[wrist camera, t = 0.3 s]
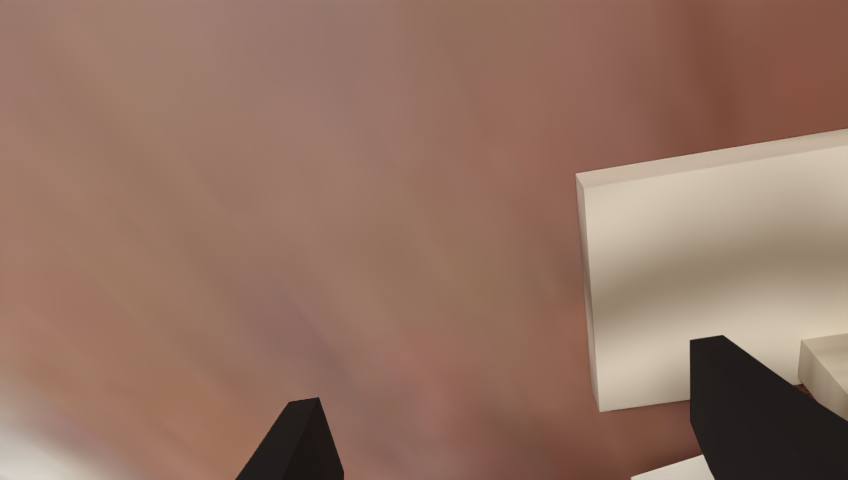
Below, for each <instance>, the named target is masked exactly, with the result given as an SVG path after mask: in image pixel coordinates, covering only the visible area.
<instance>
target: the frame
mask: <svg viewBox="0 0 848 480" xmlns="http://www.w3.org/2000/svg"><path fill="white" fill-rule="evenodd" d="M631 480H715V479H714V477H713V475H712V474H711V472H710V470H709V467H708V465H707V462H706V460H705V458H704V455H700V456H697V457H694V458H691V459H687V460H684V461H681V462H678V463H675V464H672V465H668V466H665V467H662V468H659V469H656V470H652V471H649V472H646V473H643V474H640V475H637V476H633V477H631Z"/></svg>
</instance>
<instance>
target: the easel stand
mask: <svg viewBox="0 0 848 480" xmlns="http://www.w3.org/2000/svg"><path fill="white" fill-rule="evenodd" d="M576 186H577V199H578V212H579V225H580V238H581V251H582V264H583V277H584V291H585V304H586V317H587V330H588V343H589V356H590V369H591V382H592V391H593V394H594V397H595V400H596V403H597V406H598V408H599V411H600V412H603V411H610V410H617V409H624V408H631V407H639V406H646V405H653V404H660V403H668V402H675V401H682V400H689V399H690V340H692V339H699V338H705V337H712V336H718V335H724V336H725V337H727V338H728V339H729V340H731V341H732V342H733V343H735V344H736V345H738V346H739V347H740V348H742V349H743V350H744V351H746V352H747V353H749V354H750V355H751V356H753V357H754V358H755V359H757V360H758V361H760V362H761V363H762V364H764V365H765V366H766V367H768V368H769V369H771V370H772V371H773V372H775V373H776V374H778V375H779V376H780V377H782V378H783V379H785V380H786V381H787V382H789V383H790V384H792V385H798V384H804V385H805V386H806V388H807V389H808V390H809V392H810V393H811V394H812V395H813V397H814V398H815V399H816V401H817V402H818V403H820V404H821V405H823V406H825V407H826V408H828V409H829V410H831V411H832V412H834V413H835V414H837V415H839V416H840V417H842V418H844V419H845V420H847V421H848V129H842V130H836V131H830V132H824V133H818V134H812V135H806V136H800V137H794V138H788V139H782V140H776V141H770V142H763V143H757V144H751V145H745V146H739V147H733V148H727V149H721V150H715V151H709V152H703V153H697V154H691V155H685V156H679V157H673V158H667V159H661V160H655V161H649V162H642V163H636V164H630V165H624V166H618V167H612V168H606V169H600V170H594V171H588V172H582V173H576Z"/></svg>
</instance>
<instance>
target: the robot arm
mask: <svg viewBox="0 0 848 480" xmlns="http://www.w3.org/2000/svg"><path fill="white" fill-rule="evenodd" d="M690 422H691V425H692V427H693V430H694V433H695V435H696V438H697V440H698V443H699V445H700V448H701V450H702V453H703V455H704V458H705V460H706V462H707V465H708V467H709V470H710V472H711V474H712V475H713V477H714V479H715V480H848V421H847V420H845V419H844V418H842V417H840V416H839V415H837V414H835V413H834V412H832V411H831V410H829V409H828V408H826V407H825V406H823V405H821V404H820V403H818V402H817V401H815V400H814V399H812V398H811V397H809V396H808V395H806V394H805V393H803V392H802V391H801V390H799V389H798V388H796V387H795V386H793V385H792V384H790V383H789V382H787V381H786V380H785V379H783V378H782V377H780V376H779V375H778V374H776V373H775V372H773V371H772V370H771V369H769V368H768V367H766V366H765V365H764V364H762V363H761V362H760V361H758V360H757V359H755V358H754V357H753V356H751V355H750V354H749V353H747V352H746V351H744V350H743V349H742V348H740V347H739V346H738V345H736V344H735V343H733V342H732V341H731V340H729V339H728V338H727V337H725V336H724V335H718V336H712V337H705V338H699V339H692V340H690ZM235 480H344V471H343V468H342V465H341V462H340V459H339V456H338V453H337V450H336V447H335V444H334V441H333V438H332V435H331V432H330V429H329V426H328V423H327V420H326V417H325V414H324V411H323V408H322V405H321V402H320V399H319V397H318V398H311V399H305V400H298V401H292V402H289V403H288V404H287V405H286V407H285V408H284V410H283V411H282V412H281V414H280V415H279V417H278V418H277V420H276V421H275V423H274V424H273V426H272V427H271V429H270V430H269V432H268V433H267V435H266V436H265V438H264V439H263V441H262V442H261V444H260V445H259V447H258V448H257V450H256V451H255V452H254V454H253V455H252V457H251V458H250V460H249V461H248V463H247V464H246V465H245V467H244V468H243V470H242V471H241V472H240V474H239V475H238V477H237V478H236V479H235Z"/></svg>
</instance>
